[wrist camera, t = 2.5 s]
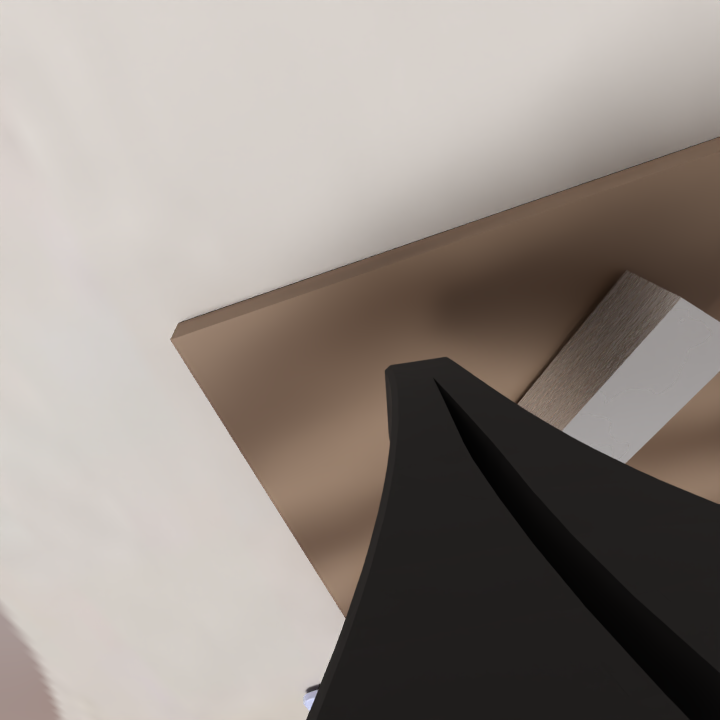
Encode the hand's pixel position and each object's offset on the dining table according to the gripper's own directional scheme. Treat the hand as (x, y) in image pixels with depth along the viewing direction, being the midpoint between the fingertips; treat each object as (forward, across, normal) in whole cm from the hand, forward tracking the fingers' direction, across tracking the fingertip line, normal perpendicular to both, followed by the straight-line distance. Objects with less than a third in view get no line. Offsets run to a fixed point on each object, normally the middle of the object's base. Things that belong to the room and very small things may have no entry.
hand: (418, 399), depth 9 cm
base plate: (+4, -6, +7) cm, 10 cm away
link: (+3, -4, +7) cm, 9 cm away
